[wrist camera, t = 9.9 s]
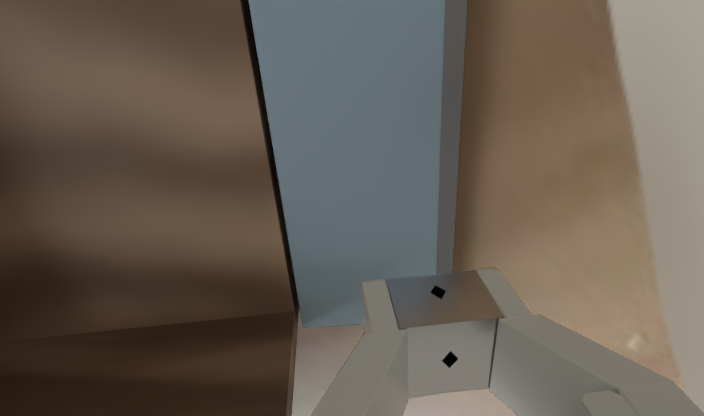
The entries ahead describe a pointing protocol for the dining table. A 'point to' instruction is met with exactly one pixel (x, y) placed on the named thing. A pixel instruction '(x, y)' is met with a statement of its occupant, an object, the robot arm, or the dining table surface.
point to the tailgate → (363, 140)
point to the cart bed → (139, 214)
